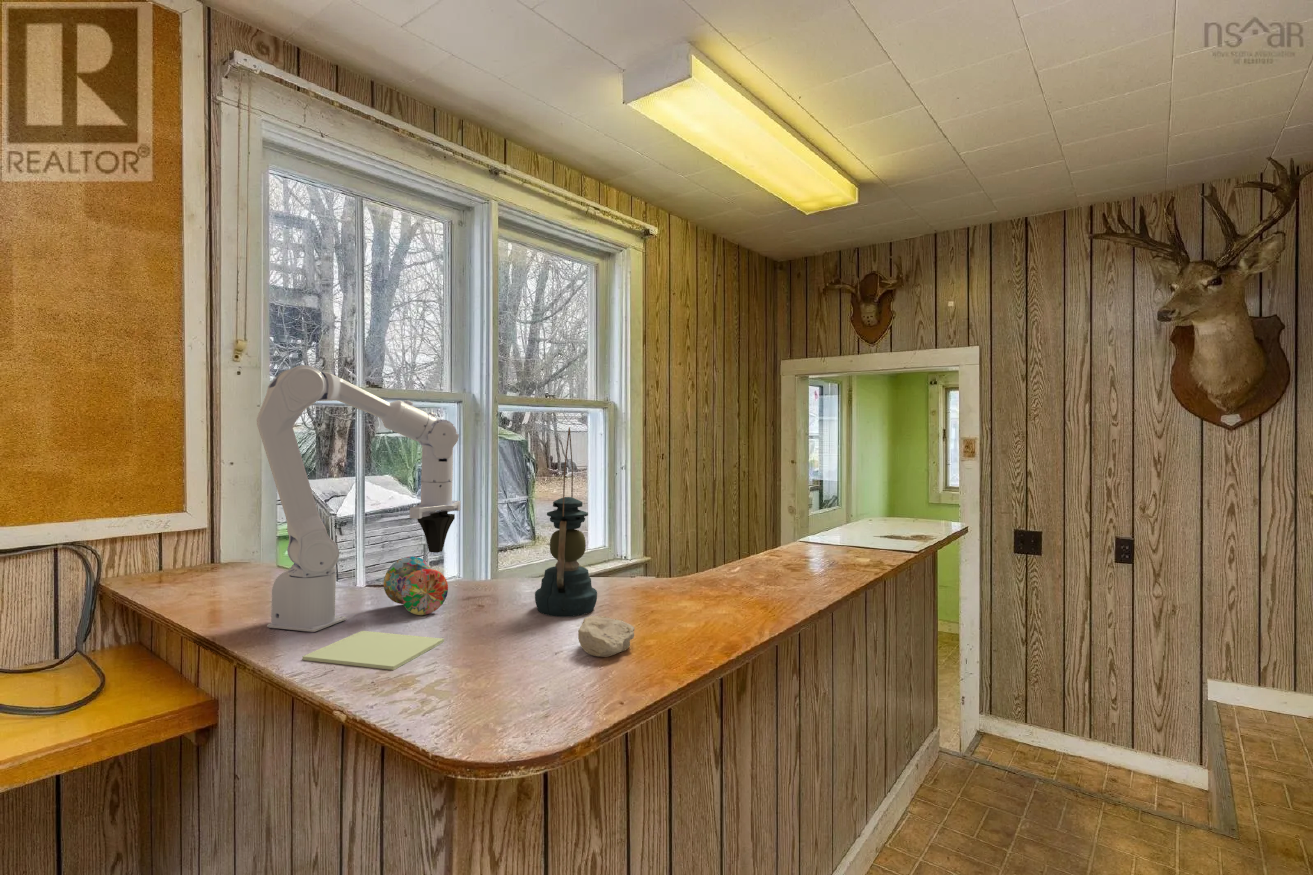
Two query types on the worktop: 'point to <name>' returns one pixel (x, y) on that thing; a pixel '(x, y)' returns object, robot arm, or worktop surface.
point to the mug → (415, 585)
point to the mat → (374, 650)
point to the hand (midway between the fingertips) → (435, 551)
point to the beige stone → (604, 636)
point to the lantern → (566, 562)
